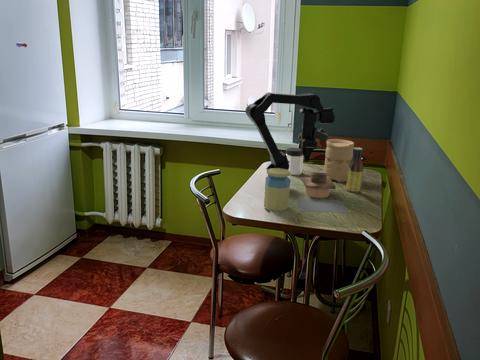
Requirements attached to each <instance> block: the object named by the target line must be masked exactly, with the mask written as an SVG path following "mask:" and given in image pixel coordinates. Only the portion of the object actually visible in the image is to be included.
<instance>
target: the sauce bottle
mask: <svg viewBox="0 0 480 360" xmlns="http://www.w3.org/2000/svg"><path fill="white" fill-rule="evenodd" d="M362 154H363V148H362V147H353V156H352V159H351V161H350V163H349V166H348V175H347V181H346V184H345V185H346V186H345V189H346V190H345V191H347V192H349V193H353V194H357V193H361V190H362V182H363V174H364V173H363V172H364V163H363V160H362Z"/></svg>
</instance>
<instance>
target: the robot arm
mask: <svg viewBox="0 0 480 360" xmlns="http://www.w3.org/2000/svg"><path fill="white" fill-rule="evenodd" d="M272 104H283V105H285V104H286V105H299V106H301V108H300V109H299V110H298V113H300V114H303V115H302V122H301V123H302V124H301V132H300V133H299V134H298V137H297V138H298V142H299V146H300V149H301V150H302V154H303V159H304V160H305V162H306V163H308V162H309V160H310V157H311V155H312V152H313V151H314V150H316V149H317V148H318V145H319V144H318V141H317V139H318V140H320V141H322V142H323V143H327V140H328V138H329V135H328V133H326V132H325V129H323V128H320V129H318V127H317V124H320V125H332V124H333V123H334V122H335V118H336V116H335V112H334V108H333V107H327V108H325V107H324V106H323V104H322V103H321V99H320V97H319V95H317V94H314V93H309V92H307V93H301V94H287V93H285V94H284V93H274V92H273V93H272V92H270V91H269V92H266V93H264V94H263V95H262V96H261V97H259V98H258V99H257V100H255V101H254V102H253V103H249V104H248V105H247V106H246V108H245V115H246V116H247V117H248V118H249V120H250V121H251V122H252V124H253V125H254V126H255V127H256V129H257V132H258V133H259V135H260V138H261V139H262V141H263V143H264V145H265V148H266V149H267V151H268V153H269V159H270V164H269V165H268V166H267V167H266V171H267V170H268V169H270V168H281V169H287V170H288V169H289V163H290V162H289V161H288V159H287V156H286V153H284V152H283V151H280V150H279V148H278V146H277V144H276V142H275V139H274V138H273V135H272V134H271V132H270V129H269V127H268V126H267V122H266V116H265V113H266V112H267V110H269V108H270V107H271V106H272ZM268 176H270V175H269V174H267V177H268Z"/></svg>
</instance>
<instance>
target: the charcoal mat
mask: <svg viewBox="0 0 480 360" xmlns="http://www.w3.org/2000/svg"><path fill="white" fill-rule="evenodd" d="M296 202H297V204H298V206H299V208H300V211H301V212H305V213H306V212H308V213H309V212H311V213H337V214H338V213H339V214H341V213H342V214H350V211H349V210H348V209H347V207H346V205H345V204H344V203H343V202H342V201H341V200H340V199H339V200H336V199H335V200H334V199H311V198H310V199H309V198H308V199H307V198H303V199H302V198H296Z"/></svg>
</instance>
